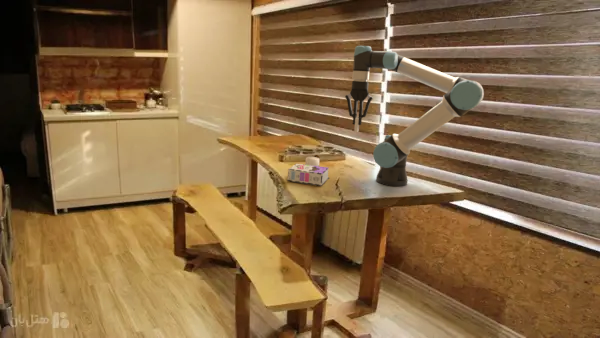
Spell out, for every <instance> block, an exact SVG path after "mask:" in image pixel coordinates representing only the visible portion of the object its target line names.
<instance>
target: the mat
mask: <svg viewBox="0 0 600 338" xmlns="http://www.w3.org/2000/svg"><path fill="white" fill-rule="evenodd" d="M329 179H330V177H329V176H328V179H327V180H329ZM291 182H293V183H297V184H304V185H307V183H300V182H294V181H291ZM312 185H314V184H311V185H310V186H312ZM315 187H317V185H316V186H315Z"/></svg>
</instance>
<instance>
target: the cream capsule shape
mask: <svg viewBox="0 0 600 338" xmlns="http://www.w3.org/2000/svg"><path fill="white" fill-rule="evenodd" d="M304 165H312V166H320V158H319V157H316V156H307V157H305V164H304Z"/></svg>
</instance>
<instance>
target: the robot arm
mask: <svg viewBox="0 0 600 338" xmlns="http://www.w3.org/2000/svg"><path fill="white" fill-rule="evenodd" d="M353 52H354V53H353V67H352V79H351V80H353V81H352V82H351V91H350V93H348V94H346V95H344V96H345V99H346V103H347V109H348V114H349V117H352V125H354V129H353V130H354V131H353V132H354V133H359V129H360V126H361V125H362V121H363V118H365V117H367V114H368V111H369V108H370V105H371V102H372V100H374V97H373V96H372V95H370V93H369V80H370V69H385V70H390V71H393V72H395V73H398V74H400V75H402V76H405V77H407V78H409V79H412V80H414V81H417V82H418V83H421V84H424V85H426V86H429V87H431V88H433V89H436V90H438V91H441V92H443V93H445V94H444V95H443V96H442V100H441V101H440V102H439V103H438V104H436V105H435V106H434V107H432V108H431V109H429V110H428V111H427V112H425V113H424V114H423V115H422V116H420V117H419V118H418V119H416V120H415V121H414V122H413V123H411V124H410V125H408V126H407V127H406V128H404V129H403V130H402V131H401V132H399V133H392V134H391V135H389V134H386V135H385V136H384V140H383V141H382V142H379V143H378V144H377V145H376V146H375V148H374V149H373V152H372V153H373V160H374V162H375V164H377V165H378V166H379V167H380V168H379V170H378V172H377V175H376V182H377V183H378V184H382V185H385V186H390V187H391V186H392V187H405V186H408V181H409V179H408V175H407V171H406V170H407V169H406V168H407V167H406V166H407V159H408V156H409V155H410V152H411V149H413V148H414V147H415V146H417V145H418V144H419V143H421V142H422V141H424V140H425V139H426V138H428V137H429V136H430V135H432V134H433V133H435V132H436V131H437V130H439V129H440V128H442V127H443V126H444V125H445V124H448V122H450V121H451V120H453V119H454V118H455V117H456V118H457V117H458V118H462V116H464V115H465V114H467V113H468V112H469V111H470V110H472V109H474V108H475V107H477V106H479V104H480V103H482V101H483V99H484V97H485V91H484V90H485V89H484V88H483V85H482V84H481V83H480V82H478V81H476V80H470V79H466V78H464V77H460V76H457V77H454V76H452V75H449V74H446V73H444V72H441V71H440V70H437V69H435V68H432V67H430V66H428V65H427V66H426V65H424V64H422V63H420V62H418V61H415V60H412V59H410V58H408V57H405V56H403V55H399V54H398V53H397V51H389V50H388V51H385V50H384V51H383V50H372V47H371V46H369V45H357V46H355V47H354V51H353ZM351 98H352V100H353V105H352V101H351ZM365 100H367V101H366V104H365V108H364V101H365ZM358 105H359V106H358ZM358 108H359V109H358ZM363 108H364V109H363ZM357 114H358V115H357Z"/></svg>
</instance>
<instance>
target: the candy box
mask: <svg viewBox="0 0 600 338" xmlns="http://www.w3.org/2000/svg"><path fill="white" fill-rule="evenodd" d="M328 177H329V167H327V166H320V165H319V166H312V165H305V164H302V163H295V164H294V165H292V166H291V167H289V168H288V170H287V181H289V182H292V181H294V182H293V183H296V182H300V183H299V184H301V183H307V184H314V185H318V186H322V185H323V184H324V183H326V181H328V180H329V179H328ZM307 184H306V185H307Z"/></svg>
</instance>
